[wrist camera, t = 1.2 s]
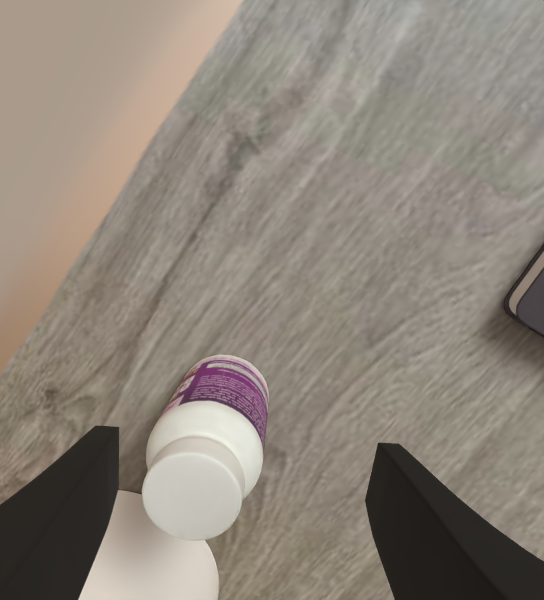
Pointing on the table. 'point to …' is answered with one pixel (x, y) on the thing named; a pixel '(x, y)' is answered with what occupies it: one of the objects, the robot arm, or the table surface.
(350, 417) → the table surface
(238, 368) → the pill bottle
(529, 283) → the notebook
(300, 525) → the table surface
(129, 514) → the canister
